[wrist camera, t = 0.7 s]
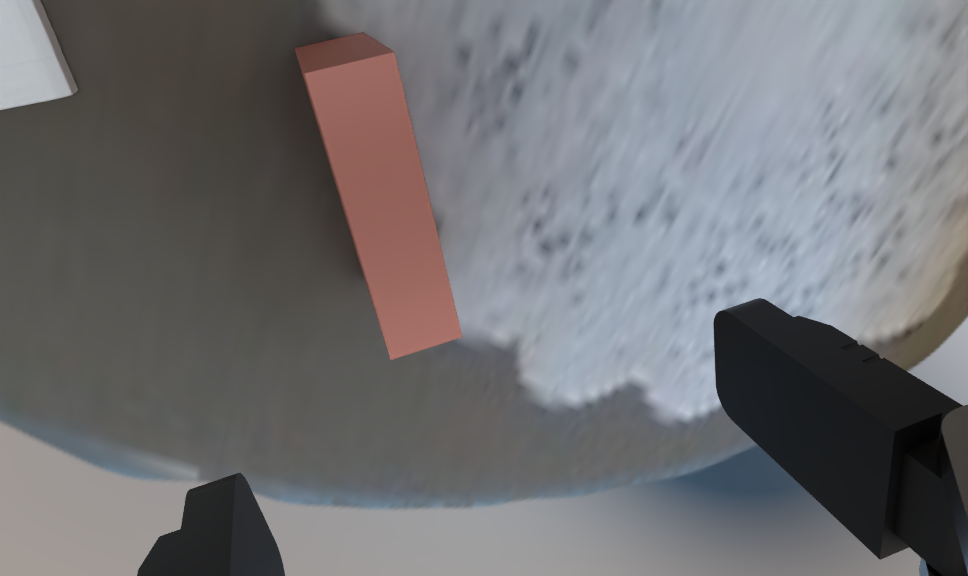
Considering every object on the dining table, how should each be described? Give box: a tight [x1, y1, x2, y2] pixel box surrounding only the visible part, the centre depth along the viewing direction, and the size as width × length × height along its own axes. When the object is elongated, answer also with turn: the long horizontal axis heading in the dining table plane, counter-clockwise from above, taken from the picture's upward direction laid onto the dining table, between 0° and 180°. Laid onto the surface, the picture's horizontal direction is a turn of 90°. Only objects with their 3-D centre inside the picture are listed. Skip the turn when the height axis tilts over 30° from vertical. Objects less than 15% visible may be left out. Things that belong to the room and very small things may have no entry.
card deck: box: [294, 33, 462, 360], centre depth 22 cm, size 9×2×6 cm, turn 11°
